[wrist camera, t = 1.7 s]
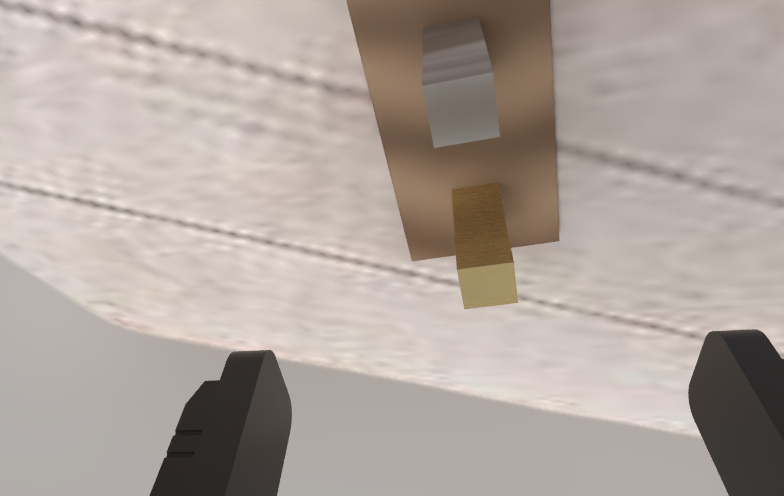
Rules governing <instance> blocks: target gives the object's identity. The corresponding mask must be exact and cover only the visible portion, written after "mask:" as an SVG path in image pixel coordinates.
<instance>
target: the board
mask: <svg viewBox="0 0 784 496" xmlns="http://www.w3.org/2000/svg"><path fill="white" fill-rule="evenodd" d="M347 4H348V8H349V12H350V16H351V20H352V24H353V28H354V32H355V36H356V40H357V44H358V48H359V52H360V56H361V60H362V64H363V68H364V72H365V76H366V80H367V84H368V88H369V92H370V96H371V100H372V104H373V108H374V112H375V116H376V120H377V124H378V128H379V132H380V136H381V140H382V144H383V147H384V151H385V155H386V159H387V163H388V167H389V171H390V175H391V179H392V183H393V187H394V191H395V195H396V199H397V203H398V207H399V211H400V215H401V219H402V223H403V227H404V231H405V235H406V239H407V243H408V247H409V251H410V255H411V259H412V261H417V260H425V259H432V258H439V257H447V256H454V255H456V247H455V232H454V218H453V204H452V189H458V188H464V187H471V186H477V185H483V184H490V183H496V182H498V186H499V191H500V196H501V201H502V206H503V211H504V216H505V221H506V226H507V231H508V236H509V241H510V246H511V248H512V247H519V246H527V245H534V244H541V243H548V242H556V241H559V219H558V194H557V170H556V145H555V121H554V96H553V72H552V47H551V23H550V0H347Z"/></svg>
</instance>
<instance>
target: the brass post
mask: <svg viewBox="0 0 784 496" xmlns="http://www.w3.org/2000/svg"><path fill="white" fill-rule="evenodd" d="M452 204H453V218H454V232H455V247H456V261H457V272H458V277H459V282H460V287H461V293H462V298H463V303H464V309H470V308H478V307H486V306H495V305H503V304H511V303H518V299H517V289H516V280H515V271H514V262H513V257H512V252H511V246H510V241H509V236H508V231H507V226H506V221H505V216H504V211H503V206H502V201H501V196H500V191H499V186H498V182H496V183H490V184H483V185H477V186H471V187H464V188H458V189H452Z"/></svg>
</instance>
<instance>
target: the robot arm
mask: <svg viewBox="0 0 784 496" xmlns="http://www.w3.org/2000/svg"><path fill="white" fill-rule="evenodd" d="M688 394H689V404H690V409H691V412H692V415H693V418H694V420H695V423H696V425H697V427H698V429H699V431H700V433H701V436H702V438H703V440H704V442H705V444H706V446H707V449H708V451H709V453H710V455H711V457H712V459H713V462H714V464H715V466H716V468H717V470H718V473H719V475H720V477H721V479H722V481H723V483H724V486H725V488H726V490H727V492H728V494H729V496H784V359H782V358H781V357H780V355H779V354H778V353H777V351H776V350H775V348H774V347H773V345H772V344H771V342H770V341H769V339H768V338H767V337H766V335H765V334H764V333H763V332H761V331H759V330H755V329H753V330H731V331H712V332H710V333H708V335H707V336H706V338H705V341H704V344H703V346H702V349H701V352H700V355H699V358H698V361H697V364H696V366H695V369H694V372H693V375H692V378H691V381H690V384H689V392H688ZM291 421H292V409H291V401H290V397H289V394H288V391H287V388H286V385H285V383H284V379H283V377H282V374H281V371H280V368H279V366H278V363H277V360H276V357H275V354H274V353H273V351H271V350H260V351H238V352H232V353H231V354H230V355H229V357H228V359H227V361H226V364H225V367H224V370H223V373H222V376H221V378H220V380H218V381H205V382H204V383H203V384H202V385H201V386H200V388H199V389H198V390H197V391H196V392H195V394H194V395H193V396H192V397H191V398H190V400H189V401H188V402H187V403H186V405H185V407H184V410H183V412H182V415H181V417H180V420H179V422H178V425H177V427H176V430H175V431H176V434H175V436H173V438H172V440H171V443H170V445H169V448H168V450H167V457H166V458H164V460H163V463H162V465H161V468H160V471H159V473H158V476H157V478H156V481H155V483H154V486H153V489H152V491H151V493H150V496H277V492H278V487H279V483H280V478H281V473H282V468H283V463H284V458H285V454H286V449H287V444H288V439H289V434H290V429H291Z"/></svg>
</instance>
